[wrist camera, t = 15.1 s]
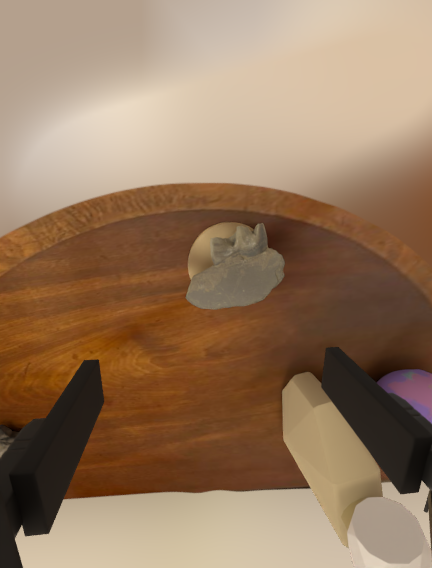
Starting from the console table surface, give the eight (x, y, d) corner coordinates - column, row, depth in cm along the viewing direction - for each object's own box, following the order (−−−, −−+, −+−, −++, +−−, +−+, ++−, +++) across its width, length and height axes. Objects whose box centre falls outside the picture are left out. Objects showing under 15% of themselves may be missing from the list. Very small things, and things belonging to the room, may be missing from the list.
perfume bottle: (284, 460, 56) (373, 692, 30) (260, 363, 49) (347, 550, 22) (340, 443, 57) (478, 657, 30) (324, 344, 50) (485, 507, 23)
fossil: (262, 264, 46) (257, 210, 40) (297, 302, 39) (299, 242, 32) (183, 296, 44) (165, 244, 38) (205, 342, 36) (186, 287, 30)
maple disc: (186, 221, 41) (186, 222, 40) (270, 221, 42) (273, 222, 41) (188, 303, 45) (189, 306, 43) (266, 300, 46) (268, 303, 45)
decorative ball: (436, 360, 53) (527, 417, 39) (403, 423, 57) (476, 497, 42) (369, 346, 51) (441, 402, 36) (339, 413, 54) (394, 487, 40)
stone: (33, 481, 51) (24, 497, 48) (-16, 474, 50) (-28, 490, 47) (45, 420, 48) (36, 433, 45) (-7, 411, 47) (-19, 424, 44)
